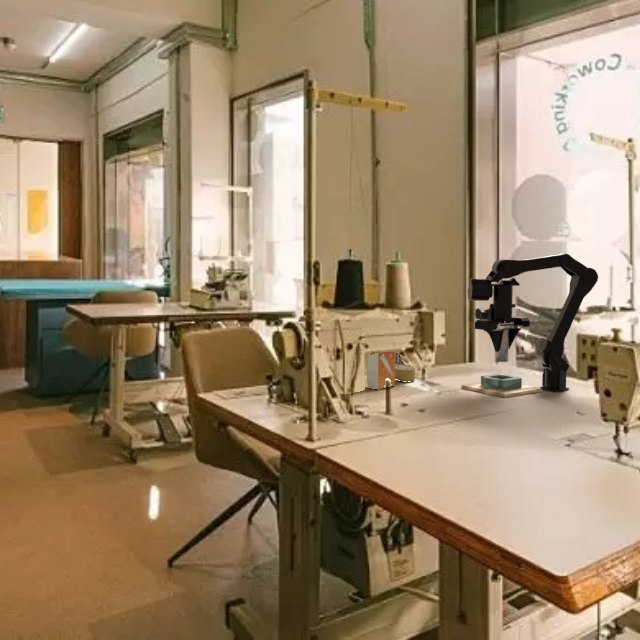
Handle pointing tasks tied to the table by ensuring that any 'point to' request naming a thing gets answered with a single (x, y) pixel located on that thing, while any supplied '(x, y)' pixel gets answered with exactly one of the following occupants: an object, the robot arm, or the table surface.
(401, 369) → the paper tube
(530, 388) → the socket board
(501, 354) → the steel pin
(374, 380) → the small box
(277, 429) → the table surface
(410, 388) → the table surface
